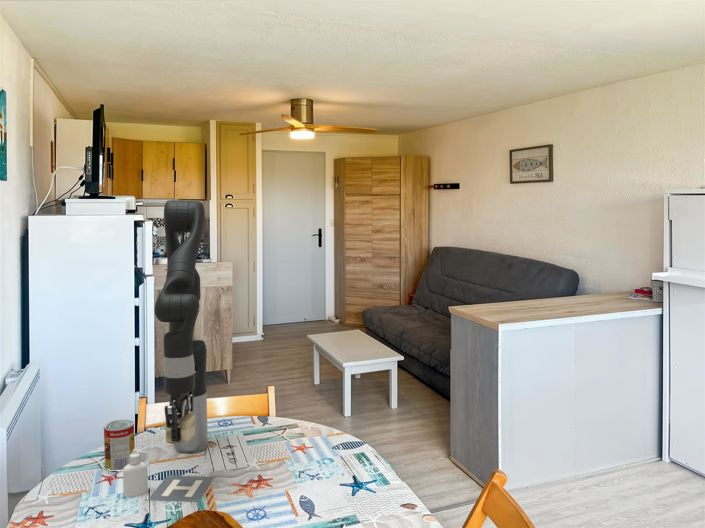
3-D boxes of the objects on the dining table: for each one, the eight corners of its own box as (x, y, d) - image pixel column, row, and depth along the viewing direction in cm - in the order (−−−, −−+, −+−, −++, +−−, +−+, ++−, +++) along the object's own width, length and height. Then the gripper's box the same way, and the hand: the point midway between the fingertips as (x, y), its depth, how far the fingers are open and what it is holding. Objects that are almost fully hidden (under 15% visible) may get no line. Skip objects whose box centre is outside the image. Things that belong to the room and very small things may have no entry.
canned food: (131, 457, 160) (130, 417, 159) (138, 467, 153) (136, 426, 152) (102, 463, 155) (101, 423, 154) (108, 474, 149) (106, 432, 148)
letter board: (147, 502, 134) (147, 500, 134) (167, 477, 147) (167, 475, 147) (198, 504, 134) (198, 501, 134) (215, 478, 147) (215, 476, 147)
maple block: (166, 442, 137) (165, 421, 136) (174, 433, 142) (174, 412, 142) (187, 443, 137) (187, 421, 136) (195, 433, 142) (194, 413, 141)
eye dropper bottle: (127, 491, 140) (126, 446, 139) (150, 490, 140) (148, 445, 139) (121, 499, 136) (119, 453, 135) (144, 499, 136) (142, 453, 135)
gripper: (183, 381, 130) (184, 449, 132) (203, 364, 145) (204, 425, 146) (152, 380, 131) (154, 448, 133) (175, 363, 145) (177, 424, 147)
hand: (180, 435), depth 139 cm, fingers closed on maple block, 5 cm apart
